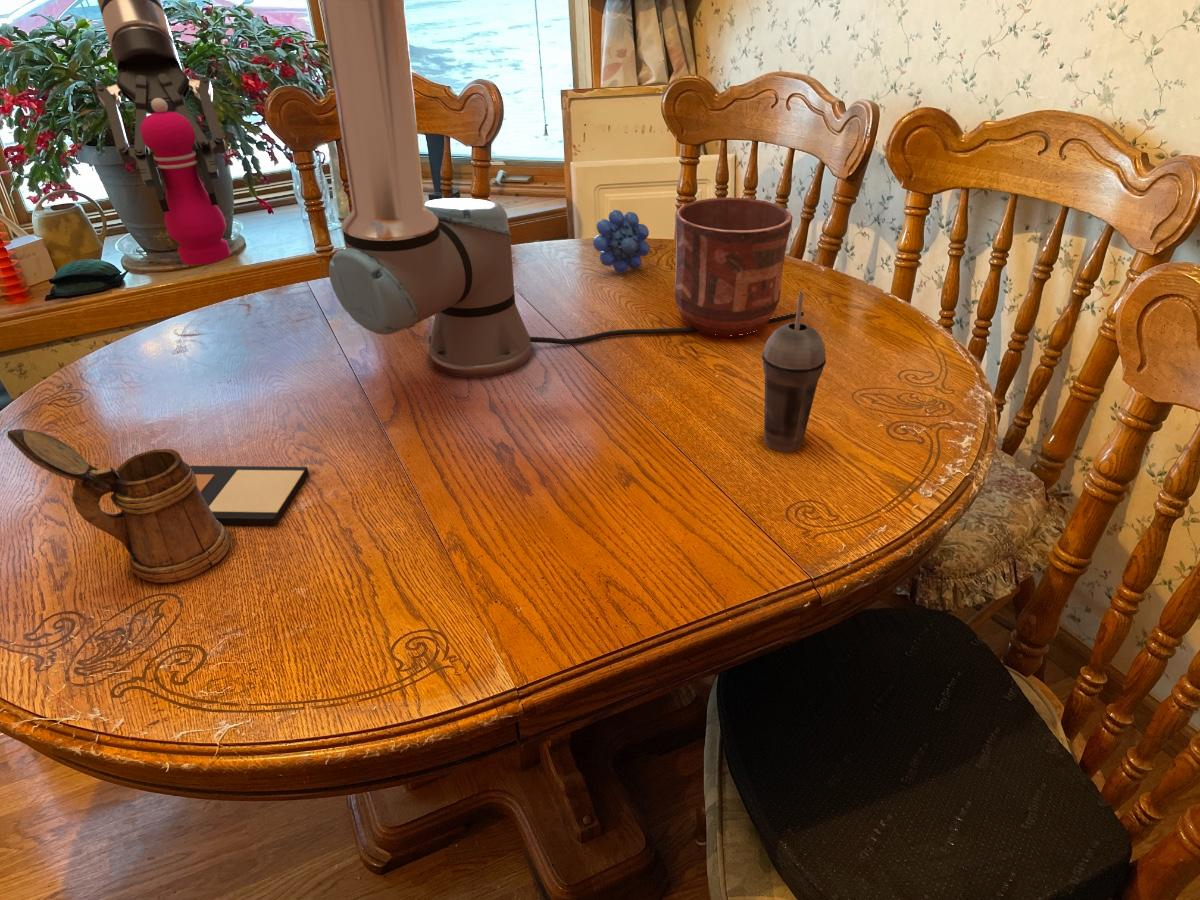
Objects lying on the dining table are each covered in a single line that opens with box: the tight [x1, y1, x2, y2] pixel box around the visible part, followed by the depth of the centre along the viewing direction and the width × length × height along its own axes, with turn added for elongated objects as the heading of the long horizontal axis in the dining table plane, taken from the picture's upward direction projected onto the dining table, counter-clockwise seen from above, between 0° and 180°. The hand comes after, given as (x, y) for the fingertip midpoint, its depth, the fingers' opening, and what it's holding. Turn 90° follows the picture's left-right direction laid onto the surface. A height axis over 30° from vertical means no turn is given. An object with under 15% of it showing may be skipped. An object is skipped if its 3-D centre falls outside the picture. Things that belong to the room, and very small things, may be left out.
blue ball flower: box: [592, 209, 651, 274], centre depth 144 cm, size 12×7×12 cm, turn 116°
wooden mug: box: [6, 428, 231, 585], centre depth 75 cm, size 9×14×18 cm, turn 122°
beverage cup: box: [761, 290, 827, 453], centre depth 91 cm, size 7×7×20 cm
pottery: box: [674, 196, 793, 340], centre depth 122 cm, size 18×18×18 cm
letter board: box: [189, 465, 310, 527], centre depth 88 cm, size 15×10×1 cm, turn 87°
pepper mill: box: [141, 98, 231, 266], centre depth 100 cm, size 7×7×20 cm
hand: (188, 202), depth 98 cm, fingers closed on pepper mill, 5 cm apart
